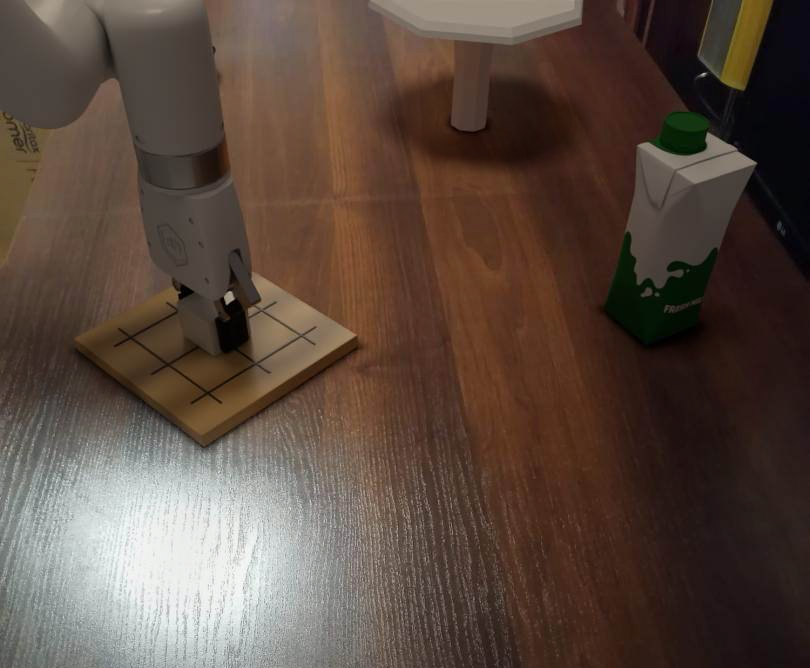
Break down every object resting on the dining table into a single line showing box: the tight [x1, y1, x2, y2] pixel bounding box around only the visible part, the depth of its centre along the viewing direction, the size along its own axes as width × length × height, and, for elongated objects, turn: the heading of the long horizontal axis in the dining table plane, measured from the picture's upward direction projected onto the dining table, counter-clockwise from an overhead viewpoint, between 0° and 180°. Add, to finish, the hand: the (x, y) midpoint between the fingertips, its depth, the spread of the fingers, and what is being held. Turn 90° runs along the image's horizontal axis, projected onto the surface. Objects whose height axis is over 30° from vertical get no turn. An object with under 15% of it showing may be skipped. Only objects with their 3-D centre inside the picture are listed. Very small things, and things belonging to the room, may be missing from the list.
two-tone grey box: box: [176, 291, 251, 357], centre depth 85 cm, size 5×5×4 cm
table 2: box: [367, 0, 584, 132], centre depth 112 cm, size 28×28×17 cm
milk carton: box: [603, 110, 758, 346], centre depth 84 cm, size 9×9×20 cm
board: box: [73, 270, 359, 448], centre depth 87 cm, size 20×20×2 cm
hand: (216, 332), depth 86 cm, fingers closed on two-tone grey box, 4 cm apart
